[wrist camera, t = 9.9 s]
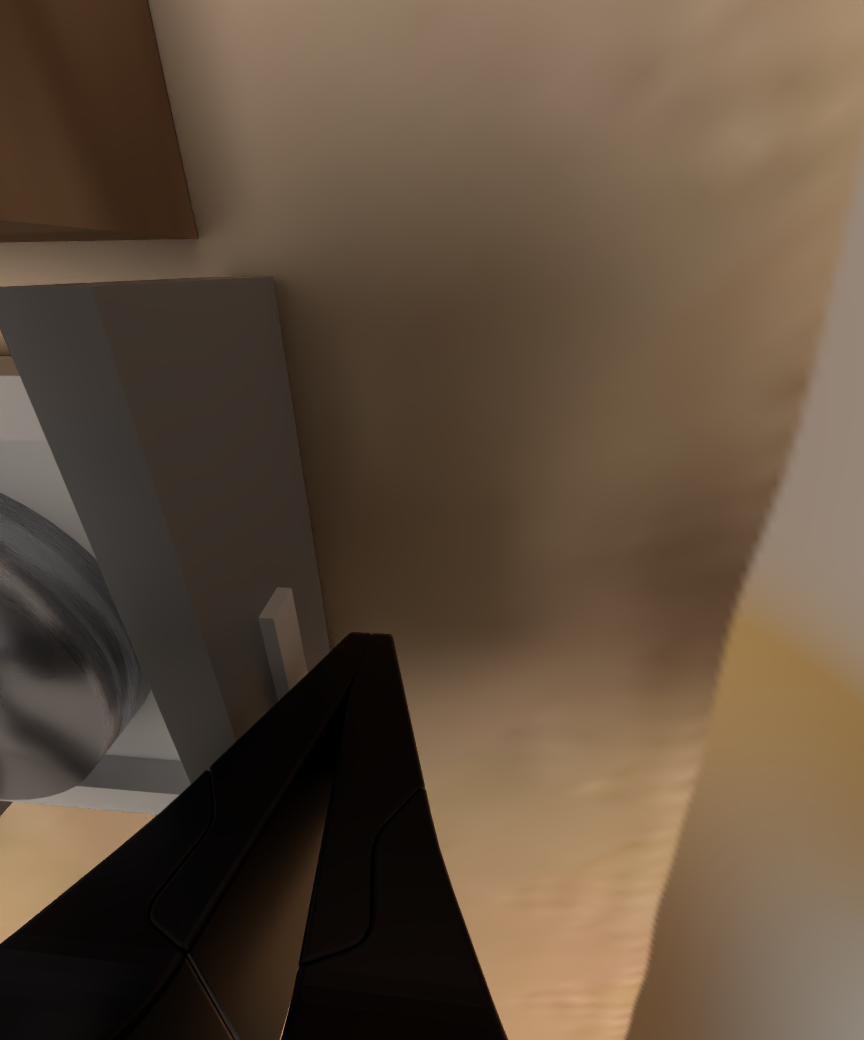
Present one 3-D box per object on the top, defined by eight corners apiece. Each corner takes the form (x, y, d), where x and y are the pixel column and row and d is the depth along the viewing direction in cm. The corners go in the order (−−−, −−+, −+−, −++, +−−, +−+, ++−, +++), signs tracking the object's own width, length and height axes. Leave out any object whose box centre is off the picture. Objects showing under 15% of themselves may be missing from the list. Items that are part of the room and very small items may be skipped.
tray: (356, 766, 13) (312, 944, 10) (-32, 736, 14) (-197, 888, 11) (288, 275, 7) (118, 286, 4) (-362, 283, 8) (-953, 297, 5)
